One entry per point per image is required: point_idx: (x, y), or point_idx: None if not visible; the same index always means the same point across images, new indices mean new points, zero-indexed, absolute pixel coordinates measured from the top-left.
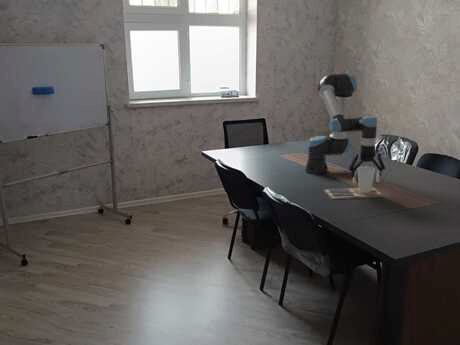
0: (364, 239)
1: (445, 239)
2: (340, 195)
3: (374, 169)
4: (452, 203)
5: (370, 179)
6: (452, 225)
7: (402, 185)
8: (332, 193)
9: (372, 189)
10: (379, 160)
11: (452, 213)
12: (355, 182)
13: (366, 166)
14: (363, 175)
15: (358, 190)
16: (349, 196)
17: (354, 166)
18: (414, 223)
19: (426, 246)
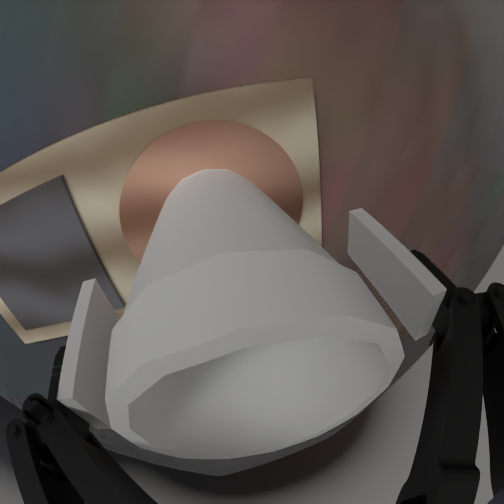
0: (181, 467)
1: (320, 438)
2: (51, 324)
3: (361, 408)
4: (477, 281)
5: (270, 348)
6: (373, 400)
7: (478, 55)
8: (2, 300)
9: (285, 169)
10: (490, 445)
11: (425, 349)
12: (116, 320)
13: (331, 319)
14: (200, 404)
15: (155, 210)
16: None
17: (74, 474)
18: None
19: (277, 457)
